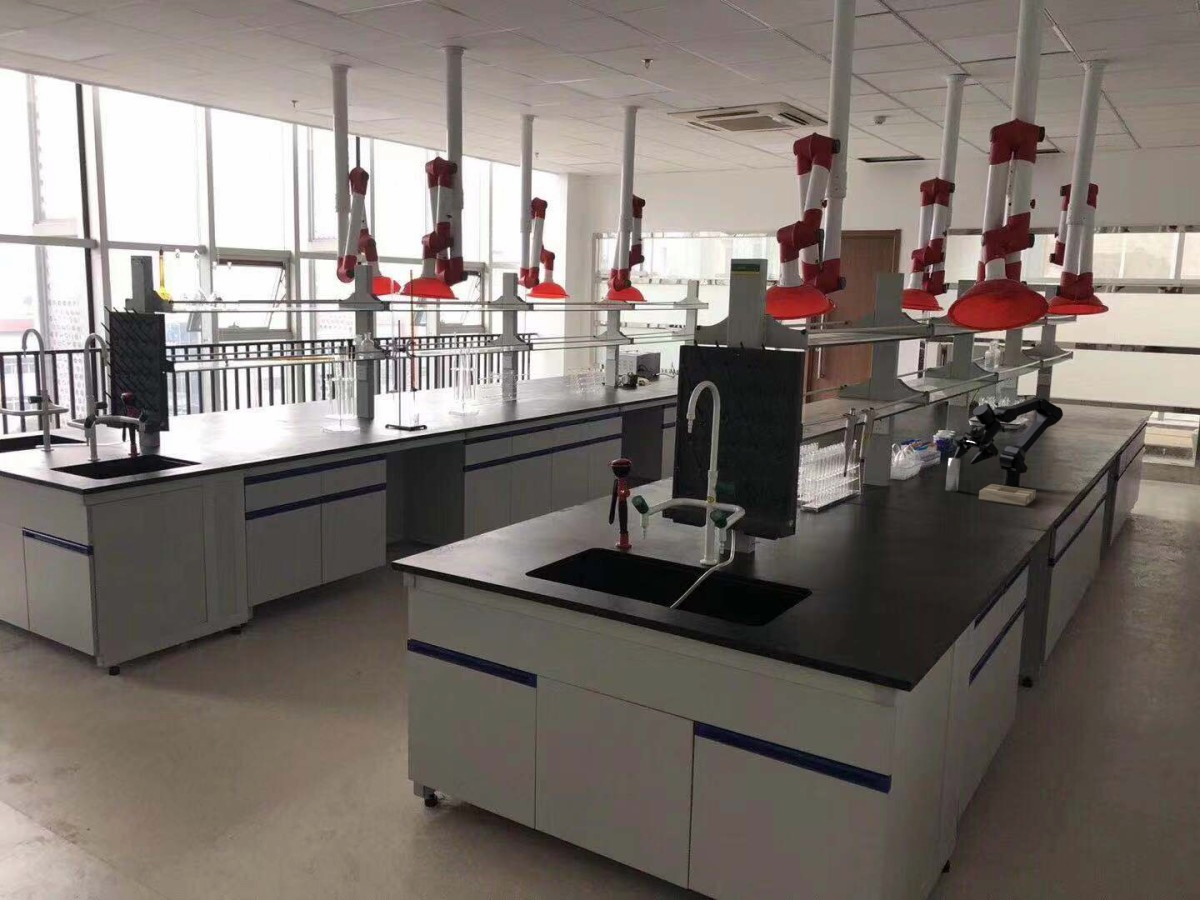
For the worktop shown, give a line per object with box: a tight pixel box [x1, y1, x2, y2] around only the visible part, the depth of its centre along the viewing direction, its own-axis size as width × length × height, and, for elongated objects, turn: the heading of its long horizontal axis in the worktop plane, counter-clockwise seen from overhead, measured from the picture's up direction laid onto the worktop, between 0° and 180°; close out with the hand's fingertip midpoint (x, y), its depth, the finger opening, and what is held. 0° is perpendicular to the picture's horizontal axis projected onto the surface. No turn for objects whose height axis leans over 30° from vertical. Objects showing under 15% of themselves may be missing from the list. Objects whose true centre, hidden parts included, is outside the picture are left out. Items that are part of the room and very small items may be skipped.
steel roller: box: [945, 456, 961, 492], centre depth 358 cm, size 4×4×12 cm
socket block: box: [978, 483, 1037, 508], centre depth 344 cm, size 16×16×4 cm
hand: (962, 461), depth 358 cm, fingers open, 9 cm apart
